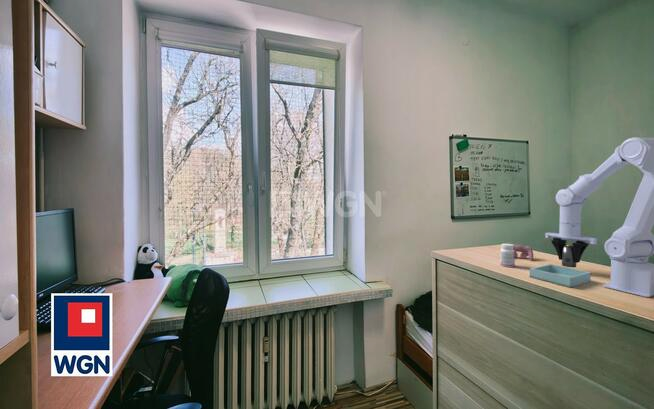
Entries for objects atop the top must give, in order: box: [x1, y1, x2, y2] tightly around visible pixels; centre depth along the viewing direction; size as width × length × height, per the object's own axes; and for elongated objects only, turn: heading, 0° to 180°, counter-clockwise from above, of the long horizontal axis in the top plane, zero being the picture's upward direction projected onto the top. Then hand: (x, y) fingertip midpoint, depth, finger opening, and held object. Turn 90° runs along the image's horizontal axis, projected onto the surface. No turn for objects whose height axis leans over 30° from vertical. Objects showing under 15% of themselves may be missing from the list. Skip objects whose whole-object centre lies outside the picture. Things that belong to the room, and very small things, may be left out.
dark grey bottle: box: [561, 243, 577, 268], centre depth 100 cm, size 4×4×8 cm
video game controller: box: [513, 244, 534, 262], centre depth 120 cm, size 10×5×7 cm, turn 58°
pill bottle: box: [499, 243, 516, 268], centre depth 109 cm, size 5×5×8 cm
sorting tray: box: [529, 263, 592, 289], centre depth 93 cm, size 12×12×3 cm
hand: (569, 260), depth 100 cm, fingers closed on dark grey bottle, 4 cm apart
